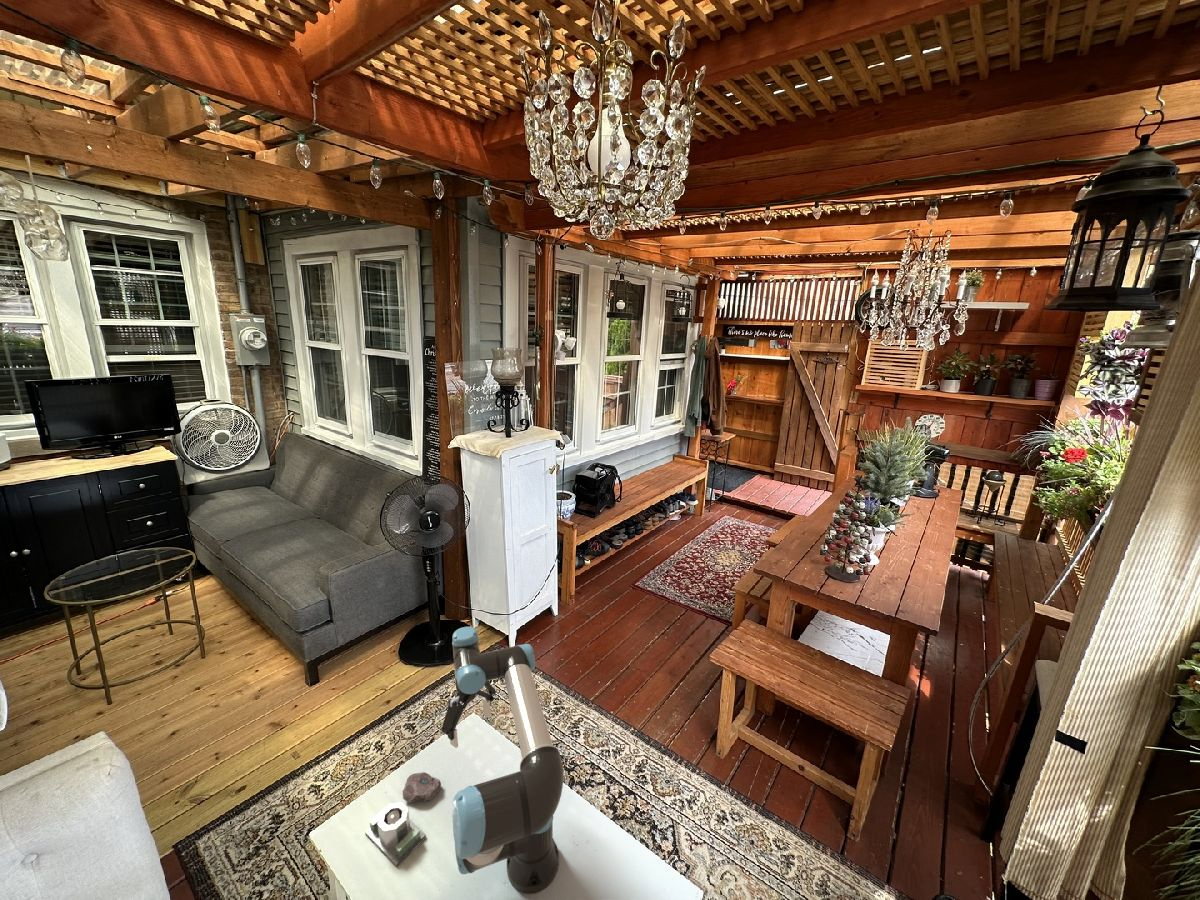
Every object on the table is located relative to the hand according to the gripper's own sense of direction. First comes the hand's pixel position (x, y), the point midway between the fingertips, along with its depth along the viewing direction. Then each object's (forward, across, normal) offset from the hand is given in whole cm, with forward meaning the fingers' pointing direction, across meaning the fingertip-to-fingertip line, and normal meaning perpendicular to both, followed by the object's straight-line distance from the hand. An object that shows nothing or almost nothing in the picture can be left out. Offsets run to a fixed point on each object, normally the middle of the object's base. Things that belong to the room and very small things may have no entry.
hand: (471, 730), depth 150 cm
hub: (+26, +23, -10) cm, 36 cm away
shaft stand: (+27, +23, -10) cm, 37 cm away
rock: (+27, +10, -15) cm, 33 cm away
